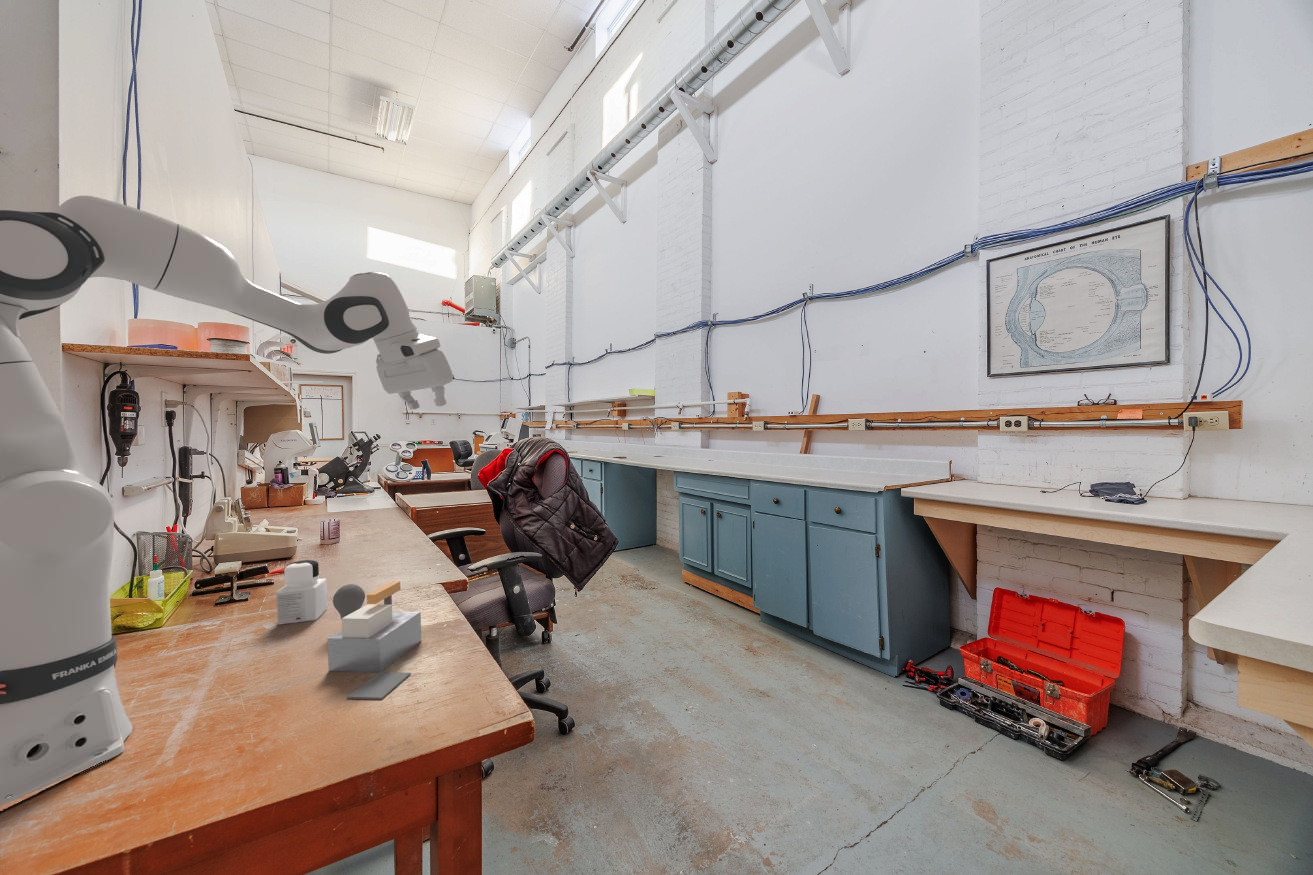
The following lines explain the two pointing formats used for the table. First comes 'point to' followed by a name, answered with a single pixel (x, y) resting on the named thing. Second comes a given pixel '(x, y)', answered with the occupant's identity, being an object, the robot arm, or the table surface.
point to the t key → (384, 593)
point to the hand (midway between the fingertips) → (428, 407)
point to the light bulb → (348, 599)
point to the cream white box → (366, 621)
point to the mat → (379, 685)
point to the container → (301, 593)
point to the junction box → (375, 645)
